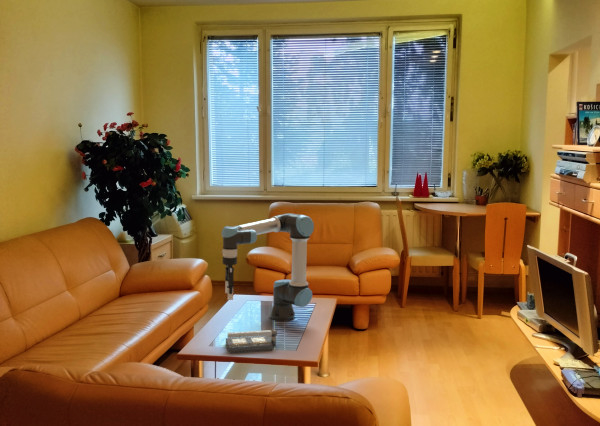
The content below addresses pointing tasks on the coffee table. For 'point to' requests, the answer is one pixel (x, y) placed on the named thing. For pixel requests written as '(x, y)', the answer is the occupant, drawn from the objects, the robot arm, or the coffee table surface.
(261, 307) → the coffee table surface
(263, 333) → the ball-tipped flat stick
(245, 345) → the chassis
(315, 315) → the coffee table surface
